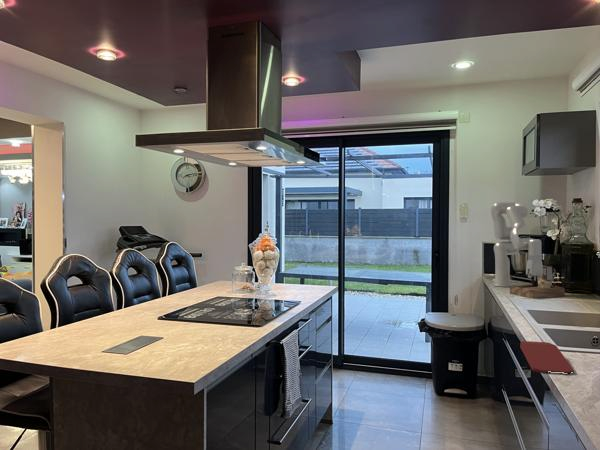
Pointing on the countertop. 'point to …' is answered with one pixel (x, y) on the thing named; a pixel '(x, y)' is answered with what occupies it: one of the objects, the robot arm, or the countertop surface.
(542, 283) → the maple block
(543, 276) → the coffee box
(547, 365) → the dark red flat piece
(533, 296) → the wooden cutting board
